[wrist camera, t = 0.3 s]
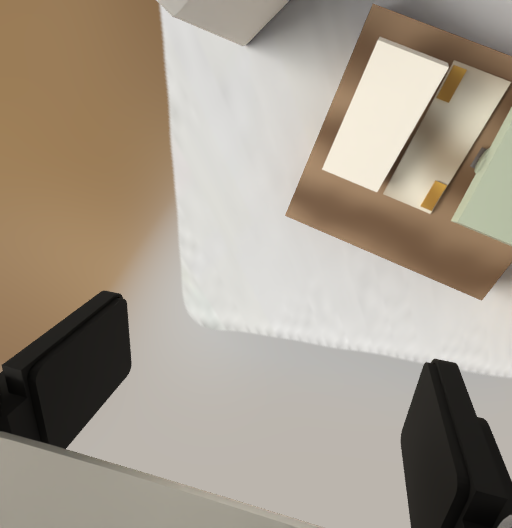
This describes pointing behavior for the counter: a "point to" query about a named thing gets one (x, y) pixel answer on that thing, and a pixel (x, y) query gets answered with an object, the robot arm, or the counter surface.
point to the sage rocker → (491, 190)
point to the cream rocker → (383, 113)
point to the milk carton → (226, 16)
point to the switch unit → (418, 162)
